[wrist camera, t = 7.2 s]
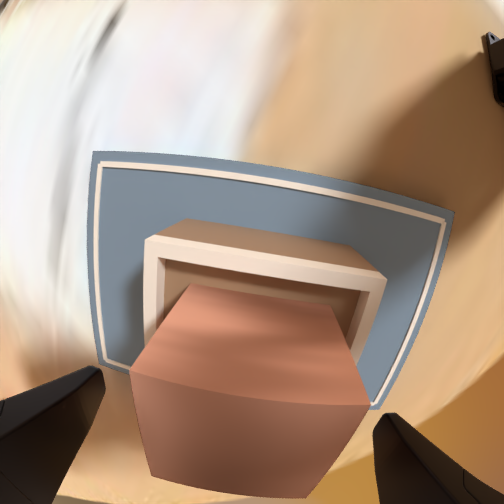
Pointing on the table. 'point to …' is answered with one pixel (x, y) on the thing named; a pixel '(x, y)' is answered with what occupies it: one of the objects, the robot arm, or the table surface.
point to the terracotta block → (246, 393)
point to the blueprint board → (260, 209)
